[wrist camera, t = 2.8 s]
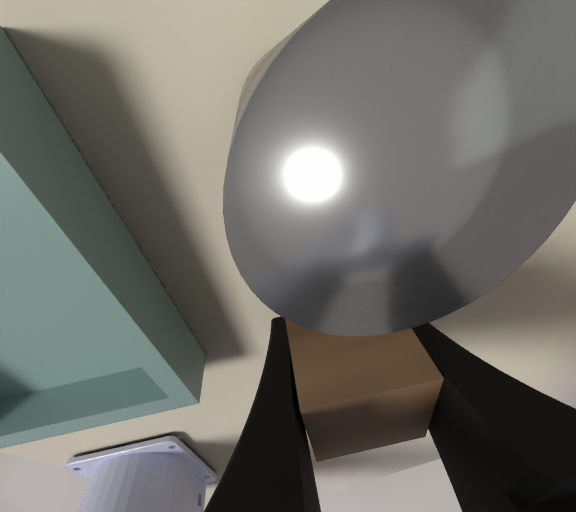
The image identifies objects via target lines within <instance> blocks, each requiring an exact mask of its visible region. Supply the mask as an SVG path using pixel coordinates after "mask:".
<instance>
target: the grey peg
mask: <svg viewBox="0 0 576 512" xmlns="http://www.w3.org/2000/svg"><path fill="white" fill-rule="evenodd" d="M575 201H576V0H330V1H329V2H327V3H326V4H325V5H324V6H323V7H322V8H320V9H319V10H318V11H317V12H316V13H314V14H313V15H312V16H311V17H310V18H308V19H307V20H306V21H305V22H304V23H302V24H301V25H300V26H299V27H298V28H296V29H295V30H294V31H293V32H292V33H290V34H289V35H288V36H287V37H286V38H284V39H283V40H282V41H281V42H280V43H278V44H277V45H276V46H275V47H274V48H273V49H271V50H270V51H269V52H268V53H267V54H265V55H264V56H263V57H262V58H261V59H260V60H259V61H258V62H257V63H256V65H255V66H254V67H253V68H252V70H251V72H250V73H249V75H248V77H247V79H246V81H245V83H244V86H243V88H242V92H241V95H240V100H239V105H238V110H237V115H236V120H235V125H234V130H233V135H232V140H231V145H230V151H229V156H228V161H227V168H226V174H225V181H224V189H223V215H224V223H225V230H226V237H227V240H228V244H229V247H230V250H231V254H232V257H233V259H234V261H235V263H236V266H237V268H238V270H239V272H240V274H241V276H242V277H243V279H244V280H245V282H246V283H247V285H248V286H249V288H250V289H251V290H252V291H253V293H254V294H255V295H256V296H257V297H258V298H259V299H260V300H261V301H262V302H263V303H264V304H265V305H266V306H268V307H269V308H270V309H271V310H272V311H274V312H275V313H277V314H278V315H280V316H281V317H283V318H285V319H286V320H288V321H290V322H292V323H294V324H297V325H299V326H301V327H303V328H307V329H310V330H313V331H317V332H321V333H326V334H331V335H340V336H373V335H382V334H388V333H393V332H399V331H402V330H406V329H410V328H414V327H417V326H420V325H423V324H426V323H428V322H431V321H434V320H436V319H438V318H441V317H443V316H445V315H448V314H450V313H452V312H454V311H456V310H458V309H460V308H462V307H463V306H465V305H467V304H469V303H470V302H472V301H474V300H475V299H477V298H479V297H480V296H482V295H484V294H485V293H486V292H488V291H489V290H491V289H492V288H493V287H495V286H496V285H498V284H499V283H500V282H502V281H503V280H504V279H505V278H507V277H508V276H509V275H510V274H512V273H513V272H514V271H515V270H516V269H518V268H519V267H520V266H521V265H522V264H523V263H524V262H525V261H526V260H527V259H528V258H529V257H530V256H531V255H533V253H534V252H535V251H536V250H537V249H538V248H539V247H540V246H541V245H542V244H543V243H544V242H545V241H546V239H547V238H548V237H549V236H550V235H551V234H552V232H553V231H554V230H555V229H556V227H557V226H558V225H559V224H560V222H561V221H562V220H563V218H564V217H565V215H566V214H567V213H568V211H569V210H570V208H571V207H572V205H573V204H574V202H575Z"/></svg>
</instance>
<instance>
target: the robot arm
mask: <svg viewBox="0 0 576 512" xmlns="http://www.w3.org/2000/svg"><path fill="white" fill-rule="evenodd" d="M412 330H413V331H414V333H415V335H416V336H417V338H418V339H419V341H420V342H421V344H422V345H423V347H424V348H425V350H426V352H427V353H428V355H429V356H430V358H431V359H432V361H433V362H434V364H435V365H436V367H437V369H438V370H439V372H440V373H441V375H442V376H443V378H444V380H443V383H442V386H441V389H440V392H439V395H438V398H437V402H436V405H435V408H434V411H433V414H432V417H431V421H430V424H429V427H428V429H429V431H430V434H431V436H432V438H433V441H434V443H435V445H436V448H437V450H438V452H439V455H440V457H441V459H442V462H443V464H444V467H445V469H446V471H447V474H448V476H449V479H450V481H451V484H452V486H453V489H454V491H455V494H456V496H457V499H458V502H459V504H460V507H461V509H462V512H576V409H575V408H573V407H571V406H568V405H566V404H564V403H562V402H560V401H558V400H556V399H554V398H552V397H550V396H548V395H545V394H543V393H541V392H539V391H537V390H535V389H534V388H532V387H530V386H528V385H526V384H524V383H522V382H520V381H519V380H517V379H515V378H513V377H511V376H509V375H507V374H505V373H504V372H502V371H500V370H498V369H497V368H495V367H493V366H492V365H490V364H488V363H487V362H485V361H483V360H482V359H480V358H478V357H477V356H475V355H474V354H472V353H470V352H469V351H467V350H466V349H464V348H463V347H461V346H460V345H458V344H457V343H456V342H454V341H453V340H451V339H450V338H448V337H447V336H446V335H444V334H443V333H442V332H440V331H439V330H437V329H436V328H435V327H434V326H432V325H431V324H430V323H426V324H423V325H420V326H417V327H414V328H412ZM65 468H67V469H69V470H71V471H73V472H75V473H77V474H79V475H81V476H83V477H85V478H87V479H89V483H88V485H87V488H86V490H85V493H84V496H83V498H82V501H81V504H80V507H79V509H78V512H321V510H320V504H319V499H318V493H317V488H316V483H315V477H314V472H313V466H312V461H311V456H310V450H309V445H308V439H307V434H306V427H305V424H304V421H303V418H302V415H301V412H300V407H299V401H298V395H297V389H296V382H295V376H294V370H293V364H292V358H291V352H290V345H289V339H288V333H287V327H286V321H285V318H283V317H277V318H273V319H272V321H271V334H270V340H269V346H268V351H267V356H266V360H265V365H264V369H263V373H262V376H261V380H260V383H259V387H258V390H257V393H256V396H255V399H254V402H253V405H252V408H251V411H250V414H249V416H248V419H247V421H246V424H245V426H244V429H243V431H242V434H241V436H240V439H239V441H238V443H237V446H236V448H235V450H234V452H233V454H232V456H231V459H230V461H229V463H228V465H227V467H226V469H225V472H224V474H223V476H222V478H221V480H220V482H219V484H218V486H217V488H216V489H215V491H214V493H213V495H212V497H211V499H210V501H209V503H208V505H207V507H206V508H205V510H204V503H205V492H206V484H207V483H211V482H215V481H216V480H217V474H216V473H214V472H213V471H212V470H211V469H210V468H209V467H208V466H207V465H206V464H205V463H204V462H203V461H202V460H201V459H200V458H198V457H197V456H196V455H195V454H194V453H193V452H192V451H191V450H190V449H189V448H188V447H187V446H186V445H185V444H184V443H182V442H181V441H180V440H179V439H178V438H177V437H176V436H166V437H161V438H157V439H153V440H148V441H144V442H139V443H135V444H131V445H126V446H122V447H118V448H113V449H109V450H104V451H100V452H96V453H91V454H87V455H83V456H78V457H74V458H70V459H68V460H67V462H66V464H65Z"/></svg>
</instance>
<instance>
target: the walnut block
mask: <svg viewBox="0 0 576 512" xmlns="http://www.w3.org/2000/svg"><path fill="white" fill-rule="evenodd" d="M285 321H286V327H287V333H288V339H289V345H290V352H291V358H292V364H293V370H294V376H295V382H296V389H297V395H298V401H299V407H300V412H301V415H302V418H303V421H304V424H305V427H306V430H307V433H308V436H309V439H310V442H311V445H312V448H313V451H314V455H315V458H316V461H322V460H326V459H330V458H335V457H339V456H344V455H348V454H352V453H357V452H361V451H365V450H370V449H374V448H378V447H383V446H387V445H391V444H396V443H400V442H405V441H409V440H413V439H418V438H422V437H425V436H426V433H427V430H428V427H429V424H430V421H431V417H432V414H433V411H434V408H435V405H436V402H437V398H438V395H439V392H440V389H441V386H442V383H443V380H444V378H443V376H442V375H441V373H440V372H439V370H438V369H437V367H436V365H435V364H434V362H433V361H432V359H431V358H430V356H429V355H428V353H427V352H426V350H425V348H424V347H423V345H422V344H421V342H420V341H419V339H418V338H417V336H416V335H415V333H414V331H413V330H412V328H410V329H406V330H402V331H399V332H393V333H388V334H382V335H373V336H340V335H331V334H326V333H321V332H317V331H313V330H310V329H307V328H303V327H301V326H299V325H297V324H294V323H292V322H290V321H288V320H286V319H285Z"/></svg>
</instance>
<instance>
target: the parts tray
mask: <svg viewBox="0 0 576 512" xmlns="http://www.w3.org/2000/svg"><path fill="white" fill-rule="evenodd" d="M205 357H206V355H205V353H204V352H203V350H202V348H201V347H200V345H199V344H198V342H197V340H196V339H195V337H194V336H193V334H192V332H191V331H190V329H189V328H188V326H187V324H186V323H185V321H184V320H183V318H182V316H181V315H180V313H179V311H178V310H177V308H176V307H175V305H174V303H173V302H172V300H171V299H170V297H169V295H168V294H167V292H166V291H165V289H164V287H163V286H162V284H161V283H160V281H159V279H158V278H157V276H156V274H155V273H154V271H153V270H152V268H151V266H150V265H149V263H148V262H147V260H146V258H145V257H144V255H143V254H142V252H141V250H140V249H139V247H138V246H137V244H136V242H135V241H134V239H133V237H132V236H131V234H130V233H129V231H128V229H127V228H126V226H125V225H124V223H123V221H122V220H121V218H120V217H119V215H118V213H117V212H116V210H115V209H114V207H113V205H112V204H111V202H110V200H109V199H108V197H107V196H106V194H105V192H104V191H103V189H102V188H101V186H100V184H99V183H98V181H97V180H96V178H95V176H94V175H93V173H92V172H91V170H90V168H89V167H88V165H87V163H86V162H85V160H84V159H83V157H82V155H81V154H80V152H79V151H78V149H77V147H76V146H75V144H74V143H73V141H72V139H71V138H70V136H69V135H68V133H67V131H66V130H65V128H64V126H63V125H62V123H61V122H60V120H59V118H58V117H57V115H56V114H55V112H54V110H53V109H52V107H51V106H50V104H49V102H48V101H47V99H46V98H45V96H44V94H43V93H42V91H41V89H40V88H39V86H38V85H37V83H36V81H35V80H34V78H33V77H32V75H31V73H30V72H29V70H28V69H27V67H26V65H25V64H24V62H23V61H22V59H21V57H20V56H19V54H18V52H17V51H16V49H15V48H14V46H13V44H12V43H11V41H10V40H9V38H8V36H7V35H6V33H5V32H4V30H3V28H2V27H1V26H0V449H1V448H6V447H10V446H14V445H19V444H23V443H28V442H32V441H36V440H41V439H45V438H49V437H54V436H58V435H63V434H67V433H71V432H76V431H80V430H84V429H89V428H93V427H98V426H102V425H106V424H111V423H115V422H120V421H124V420H128V419H133V418H137V417H141V416H146V415H150V414H155V413H159V412H163V411H168V410H172V409H176V408H181V407H185V406H190V405H194V404H198V403H199V401H200V394H201V386H202V379H203V372H204V365H205Z"/></svg>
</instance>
